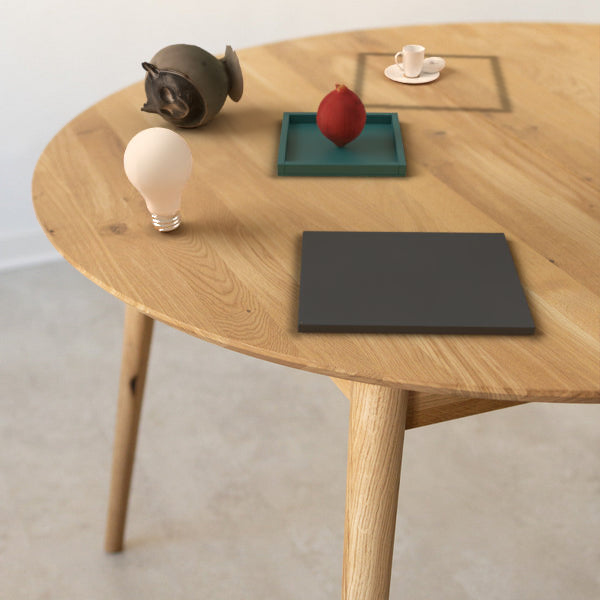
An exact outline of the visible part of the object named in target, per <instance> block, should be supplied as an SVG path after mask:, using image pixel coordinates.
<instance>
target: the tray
mask: <svg viewBox="0 0 600 600" xmlns="http://www.w3.org/2000/svg"><path fill="white" fill-rule="evenodd" d="M316 117H317V111H283V113H282V120H281V130H280V137H279V145H278V153H277V161H276V162H277V163H276V170H277V171H276V174H277V177H352V178H353V177H355V178H356V177H358V178H359V177H361V178H362V177H365V178H366V177H370V178H372V177H375V178H376V177H378V178H406V174H407V159H406V156H405V150H404V142H403V137H402V130H401V125H400V120H399V119H400V117H399V114H398V112H376V111H375V112H370V111H369V112H367V111H366V122H365V126H364V128H363V130H362V132H361V134H360V135H359V136H358V137H357V138H356V139H355V140H353V141H352V142H350V143H348V144H346V145H345V146H342V147H338V146H336V145H335V144H334V143H333V142H332V141H330V140H329V139H327V138H326V137H325V136H324V135H323V134H322V133H321V131H320V129H319V127H318V125H317V119H316Z"/></svg>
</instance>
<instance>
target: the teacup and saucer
mask: <svg viewBox="0 0 600 600" xmlns="http://www.w3.org/2000/svg"><path fill="white" fill-rule="evenodd" d="M425 52H426V47H424V46H422V45H420V44H406V45H404V46H403V47H402V51H398V52H397V53H395V56H394V61H395V63H394V64H392V65H389V66H387V67H386V68H385V69H384V72H383V73H384V75H385V76H386V77H387V78H388V79H390V80H392V81H395V82H399V83H405V84H424V83H425V84H426V83H429V82H430V83H431V82H433V81H435V80H437V79H439V77H440V72H441V71H443V70H444V69H445V67H446V61H445V59H444V58H442V57H439V56H430V57H426V58H425V54H426V53H425ZM399 55H401V56H402V62H398V56H399Z"/></svg>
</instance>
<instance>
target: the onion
mask: <svg viewBox="0 0 600 600" xmlns="http://www.w3.org/2000/svg"><path fill="white" fill-rule="evenodd" d="M334 87H335V89H333V90H331V91H330V92H328V93H327V94H326V95H325V96H324V97H323V98H322V99H321V101H320V103H319V105H318V108H317V111H316V112H317V117H316V119H317V125H318V127H319V129H320V131H321V133H322V134H323V135H324V136H325V137H326V138H327V139H329V140H330V141H332V142H333V143H334V144H335V145H336V146H338V147H342V146H345V145H346V144H348V143H350V142H352V141H353V140H355V139H356V138H357V137H358V136H359V135H360V134H361V132H362V130H363V128H364V126H365V122H366V112H367V111H366V108H365V104H364V103H363V101H362V100H361V98H360V97H359V96H358V94H356V93H355V92H354V91H353V90H352V89H350V88H349V87H348V86H347V85H346V84H345V83H344V82H337V83H335V84H334Z"/></svg>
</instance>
